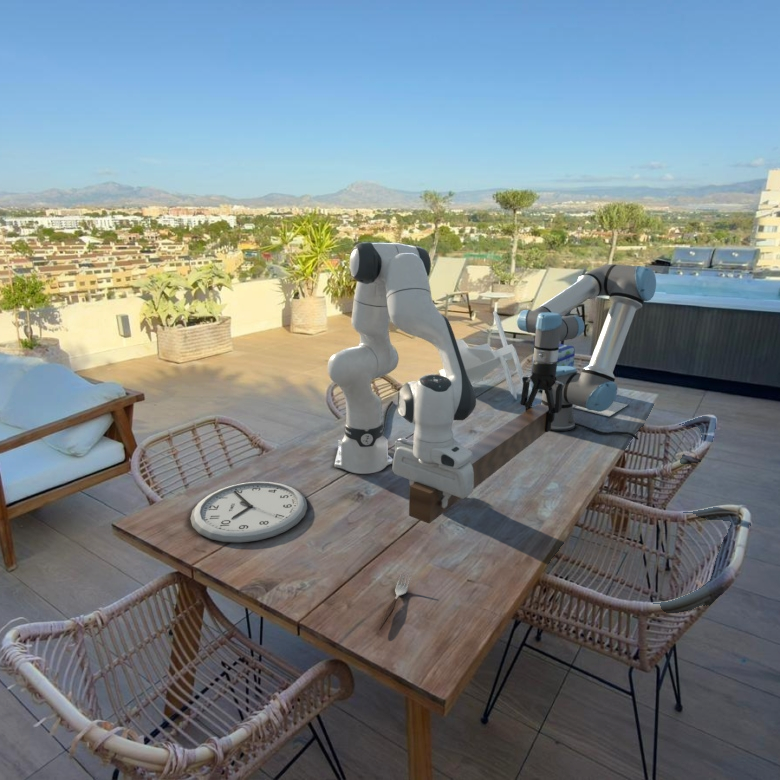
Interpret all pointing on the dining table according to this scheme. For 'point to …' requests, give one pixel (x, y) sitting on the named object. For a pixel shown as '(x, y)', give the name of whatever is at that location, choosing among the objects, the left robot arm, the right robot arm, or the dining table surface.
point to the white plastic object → (489, 359)
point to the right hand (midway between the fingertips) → (538, 428)
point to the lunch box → (563, 357)
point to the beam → (483, 460)
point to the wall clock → (248, 512)
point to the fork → (399, 591)
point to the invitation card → (609, 411)
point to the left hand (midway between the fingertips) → (430, 501)
